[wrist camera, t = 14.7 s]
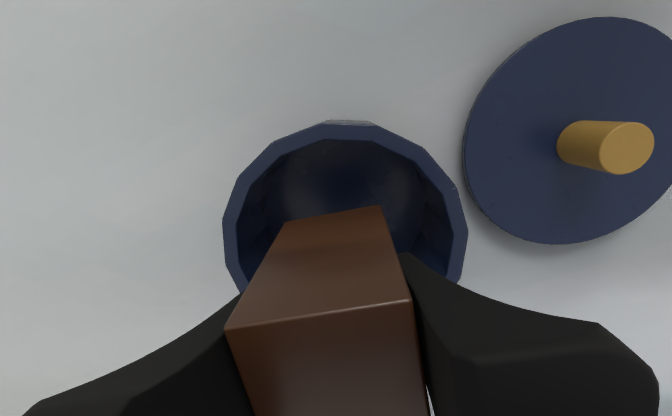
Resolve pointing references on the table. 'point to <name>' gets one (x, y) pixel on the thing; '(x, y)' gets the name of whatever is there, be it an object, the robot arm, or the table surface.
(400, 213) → the tin
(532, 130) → the tin lid
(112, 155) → the table surface
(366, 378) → the walnut block
